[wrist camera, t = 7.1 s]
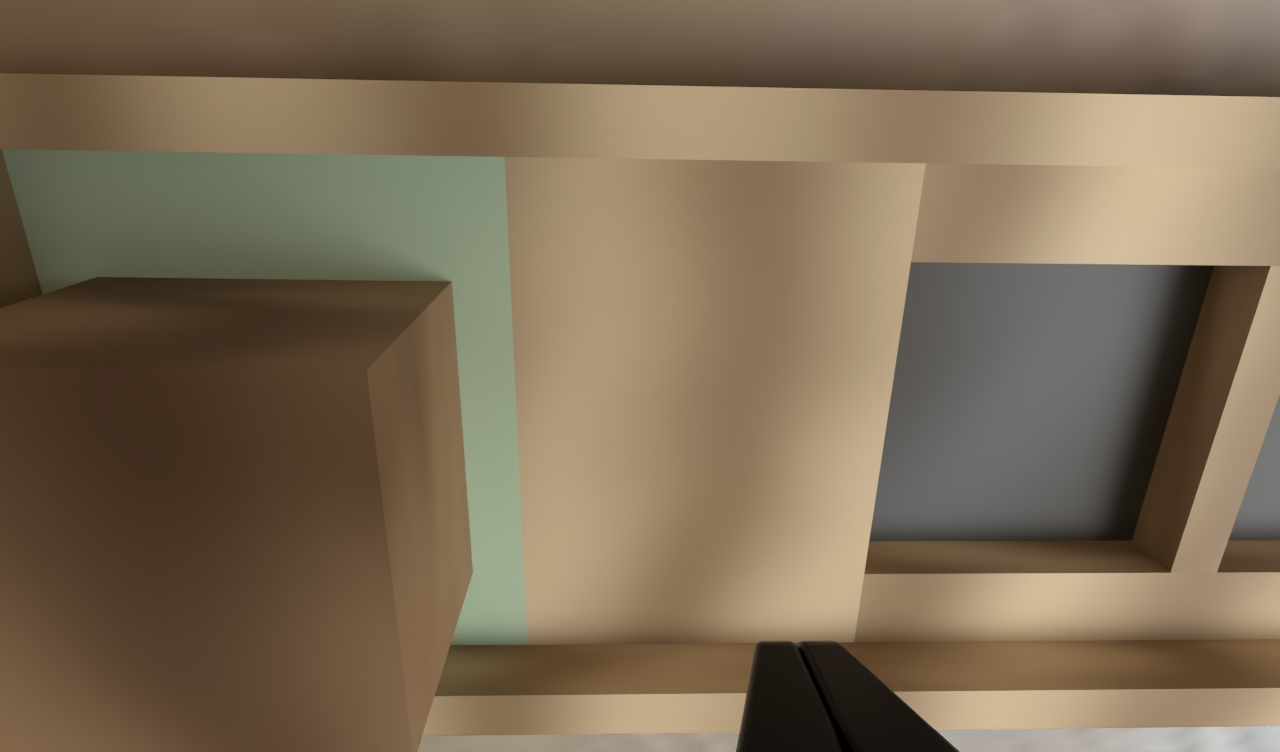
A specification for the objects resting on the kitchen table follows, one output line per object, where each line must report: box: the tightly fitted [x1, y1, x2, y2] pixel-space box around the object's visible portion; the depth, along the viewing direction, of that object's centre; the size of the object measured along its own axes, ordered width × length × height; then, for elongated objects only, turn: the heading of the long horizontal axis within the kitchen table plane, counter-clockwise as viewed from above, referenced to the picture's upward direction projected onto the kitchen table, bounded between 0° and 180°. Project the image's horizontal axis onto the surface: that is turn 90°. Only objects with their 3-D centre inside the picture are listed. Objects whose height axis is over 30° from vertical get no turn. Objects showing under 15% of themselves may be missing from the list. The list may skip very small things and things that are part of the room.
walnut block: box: [0, 277, 473, 752], centre depth 11 cm, size 6×6×4 cm
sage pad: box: [2, 149, 528, 645], centre depth 14 cm, size 8×10×1 cm
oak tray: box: [0, 73, 1280, 736], centre depth 14 cm, size 30×12×3 cm, turn 89°
